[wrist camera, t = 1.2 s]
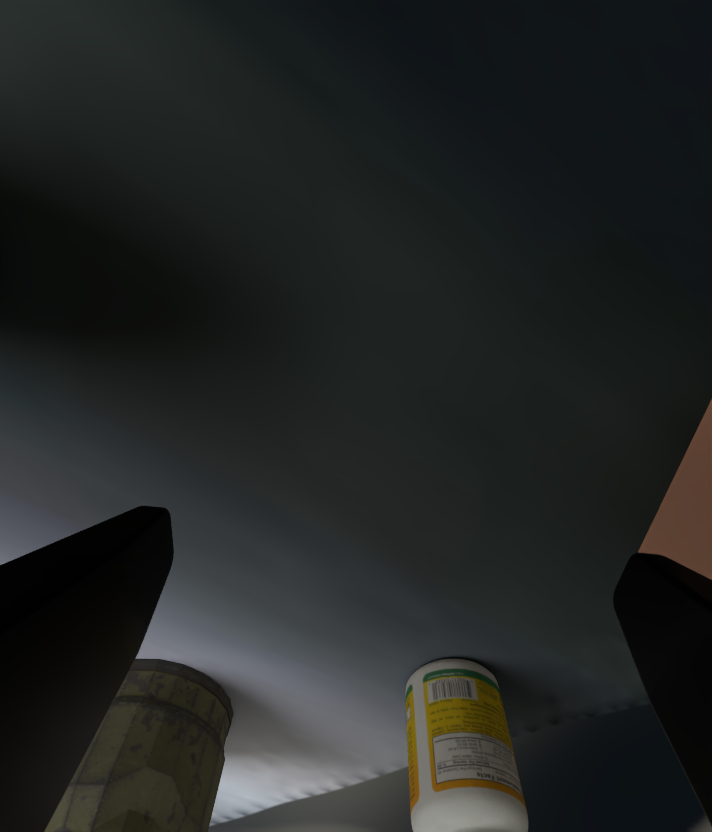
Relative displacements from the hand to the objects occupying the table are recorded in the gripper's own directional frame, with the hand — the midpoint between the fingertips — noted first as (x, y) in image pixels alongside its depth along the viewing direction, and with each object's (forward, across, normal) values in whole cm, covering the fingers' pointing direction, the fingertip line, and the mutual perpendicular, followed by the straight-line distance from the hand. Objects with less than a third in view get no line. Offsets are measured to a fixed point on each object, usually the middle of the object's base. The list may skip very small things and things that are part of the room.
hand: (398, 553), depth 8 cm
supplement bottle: (+13, +6, -22) cm, 26 cm away
